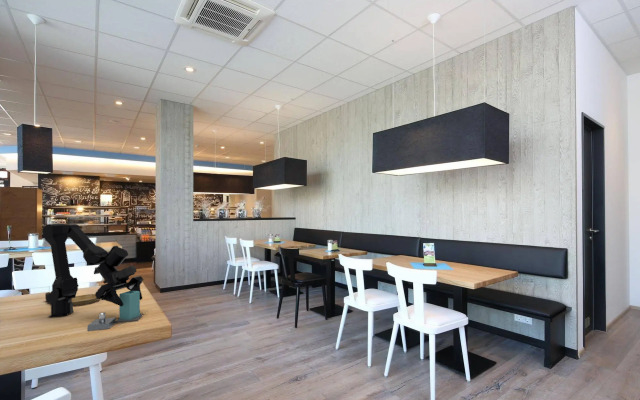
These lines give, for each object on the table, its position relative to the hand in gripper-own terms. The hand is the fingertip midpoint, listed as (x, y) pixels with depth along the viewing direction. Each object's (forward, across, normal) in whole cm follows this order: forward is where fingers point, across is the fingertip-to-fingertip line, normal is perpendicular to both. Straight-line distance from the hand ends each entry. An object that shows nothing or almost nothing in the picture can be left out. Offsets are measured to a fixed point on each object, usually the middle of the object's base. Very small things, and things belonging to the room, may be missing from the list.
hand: (132, 302), depth 129 cm
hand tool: (-38, +12, +49) cm, 63 cm away
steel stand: (+2, -9, +8) cm, 12 cm away
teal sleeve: (+3, 0, +5) cm, 6 cm away
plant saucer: (-28, +17, +38) cm, 50 cm away
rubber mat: (+4, 0, +6) cm, 7 cm away
